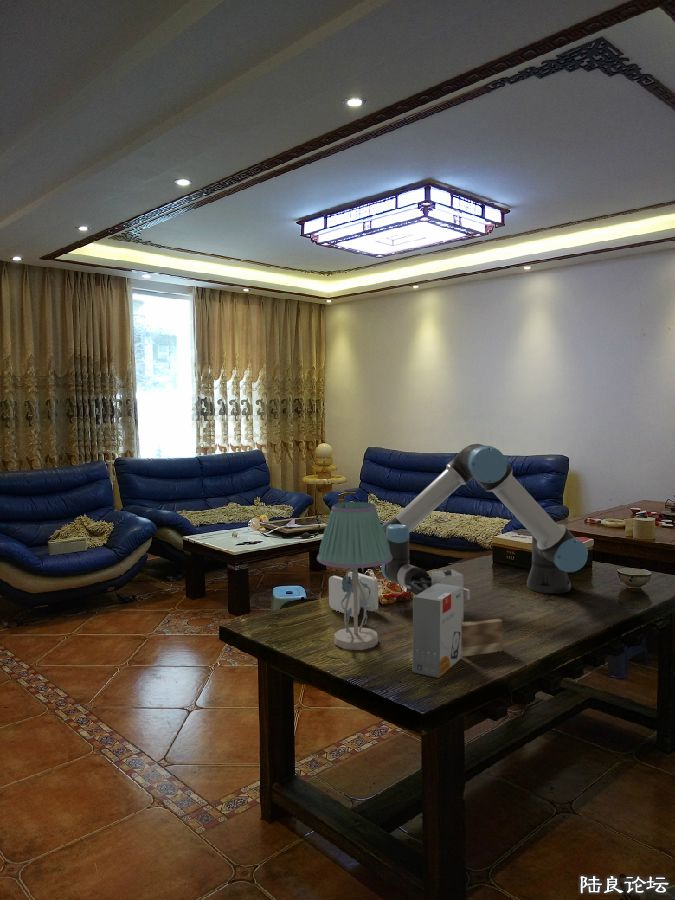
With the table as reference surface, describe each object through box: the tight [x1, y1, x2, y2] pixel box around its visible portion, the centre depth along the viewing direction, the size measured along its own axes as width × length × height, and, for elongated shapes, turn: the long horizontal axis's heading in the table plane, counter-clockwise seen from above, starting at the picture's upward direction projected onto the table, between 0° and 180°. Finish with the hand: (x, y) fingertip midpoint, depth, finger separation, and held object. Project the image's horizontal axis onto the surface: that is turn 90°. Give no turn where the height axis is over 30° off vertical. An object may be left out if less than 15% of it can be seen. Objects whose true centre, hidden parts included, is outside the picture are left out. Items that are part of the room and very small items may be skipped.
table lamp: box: [316, 501, 393, 651], centre depth 188 cm, size 22×22×40 cm
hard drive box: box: [411, 583, 462, 679], centre depth 171 cm, size 16×8×20 cm, turn 148°
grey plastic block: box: [328, 571, 379, 618], centre depth 218 cm, size 15×11×12 cm
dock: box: [461, 618, 504, 658], centre depth 188 cm, size 12×18×8 cm, turn 17°
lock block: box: [431, 569, 464, 623], centre depth 196 cm, size 7×7×15 cm
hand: (456, 597), depth 191 cm, fingers closed on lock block, 8 cm apart
